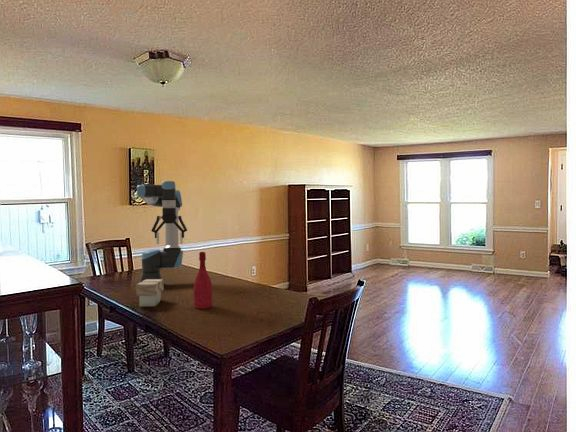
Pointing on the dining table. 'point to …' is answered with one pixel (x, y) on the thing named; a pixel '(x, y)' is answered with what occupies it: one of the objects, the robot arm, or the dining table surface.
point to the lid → (149, 287)
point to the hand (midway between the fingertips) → (169, 243)
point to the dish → (150, 300)
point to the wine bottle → (202, 286)
